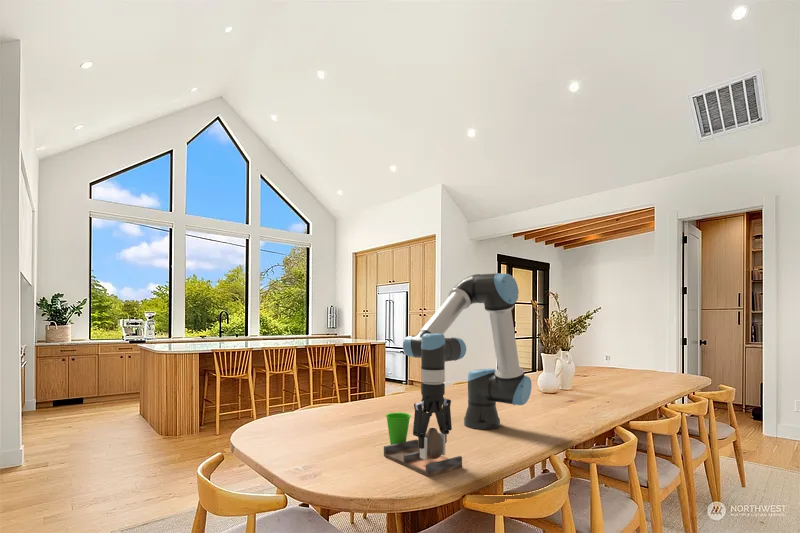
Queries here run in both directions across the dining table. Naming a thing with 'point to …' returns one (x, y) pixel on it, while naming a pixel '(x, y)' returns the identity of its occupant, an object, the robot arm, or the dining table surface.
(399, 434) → the cup
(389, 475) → the dining table surface
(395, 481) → the dining table surface
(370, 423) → the dining table surface
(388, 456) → the rack
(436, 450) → the vase
